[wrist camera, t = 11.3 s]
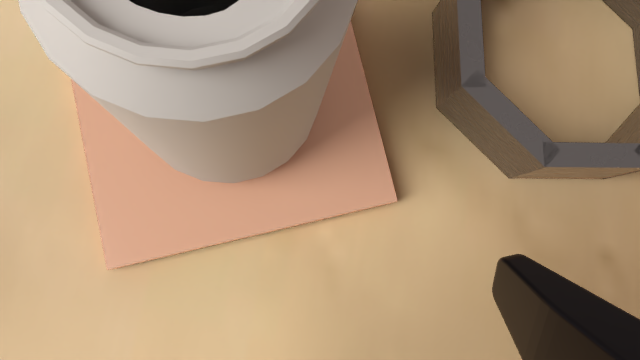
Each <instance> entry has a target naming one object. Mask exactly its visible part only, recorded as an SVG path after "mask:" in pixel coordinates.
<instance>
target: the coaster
mask: <svg viewBox="0 0 640 360" xmlns="http://www.w3.org/2000/svg"><path fill="white" fill-rule="evenodd" d="M71 81H72V86H73V92H74V97H75V102H76V108H77V113H78V118H79V123H80V129H81V134H82V139H83V145H84V150H85V155H86V161H87V166H88V171H89V177H90V182H91V187H92V193H93V198H94V203H95V209H96V214H97V219H98V225H99V230H100V235H101V241H102V246H103V251H104V257H105V262H106V267H107V270H111V269H116V268H121V267H125V266H129V265H133V264H138V263H142V262H146V261H150V260H154V259H159V258H163V257H167V256H171V255H175V254H180V253H184V252H188V251H192V250H197V249H201V248H205V247H209V246H213V245H218V244H222V243H226V242H230V241H235V240H239V239H243V238H247V237H251V236H256V235H260V234H264V233H268V232H273V231H277V230H281V229H285V228H289V227H294V226H298V225H302V224H306V223H311V222H315V221H319V220H323V219H327V218H332V217H336V216H340V215H344V214H348V213H353V212H357V211H361V210H365V209H370V208H374V207H378V206H382V205H386V204H391V203H394V202H397V201H398V200H397V197H396V193H395V189H394V185H393V181H392V177H391V173H390V170H389V166H388V162H387V158H386V154H385V150H384V146H383V143H382V139H381V135H380V131H379V127H378V123H377V119H376V116H375V112H374V108H373V104H372V100H371V96H370V92H369V89H368V85H367V81H366V77H365V73H364V69H363V65H362V62H361V58H360V54H359V50H358V46H357V42H356V39H355V35H354V31H353V27H352V23H351V21H350V23H349V26H348V29H347V32H346V35H345V37H344V40H343V43H342V46H341V49H340V51H339V54H338V57H337V60H336V63H335V65H334V68H333V71H332V74H331V77H330V79H329V82H328V85H327V88H326V91H325V93H324V96H323V99H322V102H321V105H320V107H319V110H318V113H317V116H316V118H315V120H314V123H313V125H312V128H311V130H310V133H309V135H308V138H307V140H306V141H305V142H304V143H303V144H302V145H301V147H300V148H299V149H298V150H297V151H296V152H295V154H294V155H293V156H292V157H291V158H290V159H289V161H287V162H286V163H284V164H282V165H281V166H279V167H278V168H276V169H274V170H273V171H271V172H269V173H268V174H266V175H264V176H262V177H258V178H254V179H250V180H246V181H241V182H237V183H222V182H209V181H202V180H199V179H197V178H194V177H192V176H189V175H187V174H184V173H182V172H179V171H177V170H175V169H174V168H172V167H171V166H170V165H169V164H168V163H166V162H165V161H164V160H163V159H162V158H161V157H159V156H158V155H157V154H156V153H155V152H153V151H152V150H151V149H150V148H149V147H148V146H147V145H145V144H144V143H143V142H142V141H141V140H140V139H139V138H138V137H136V136H135V135H134V134H133V133H132V132H131V131H130V130H128V129H127V128H126V127H125V126H124V125H123V124H122V123H121V122H119V121H118V120H117V119H116V118H115V117H114V116H113V115H112V114H110V113H109V112H108V111H107V110H106V109H105V108H104V107H103V106H101V105H100V104H99V103H98V102H97V101H96V100H95V99H94V98H92V97H91V96H90V95H89V94H88V93H87V92H86V91H85V90H83V89H82V88H81V87H80V86H79V85H78V84H77V83H76V82H74V81H73V80H72V79H71Z"/></svg>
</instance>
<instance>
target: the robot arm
mask: <svg viewBox="0 0 640 360" xmlns="http://www.w3.org/2000/svg"><path fill="white" fill-rule="evenodd" d="M492 292H493V297H494V300H495V302H496V304H497V306H498V308H499V310H500V313H501V315H502V317H503V319H504V321H505V323H506V325H507V328H508V330H509V332H510V334H511V336H512V338H513V340H514V343H515V345H516V347H517V349H518V351H519V353H520V355H521V358H522V360H640V319H638V318H636V317H634V316H632V315H631V314H629V313H627V312H625V311H623V310H622V309H620V308H618V307H616V306H614V305H613V304H611V303H609V302H607V301H605V300H604V299H602V298H600V297H598V296H596V295H595V294H593V293H591V292H589V291H587V290H586V289H584V288H582V287H580V286H578V285H577V284H575V283H573V282H571V281H569V280H568V279H566V278H564V277H562V276H560V275H559V274H557V273H555V272H553V271H551V270H550V269H548V268H546V267H544V266H542V265H541V264H539V263H537V262H535V261H533V260H532V259H530V258H528V257H526V256H524V255H521V254H515V255H511V256H506V257H502V258H500V259H499V261H498V263H497V267H496V272H495V277H494V282H493V287H492Z"/></svg>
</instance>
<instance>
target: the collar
mask: <svg viewBox="0 0 640 360" xmlns="http://www.w3.org/2000/svg"><path fill="white" fill-rule="evenodd" d="M603 1H604V2H605V3H606V4H607V5H608V6H609V7H610V8H611V9H612V10H613V11H614V12H615V13H616V14H618V15H619V16H620V17H621V18H622V19H623V20H624V21H625V22H626V23H627V24H628V25H629V26H630V27H631V28H632V29H633V37H634V46H635V56H636V66H637V75H638V85H639V94H640V0H603ZM432 17H433V40H434V62H435V84H436V108H437V109H438V110H439V111H440V112H441V113H442V114H444V115H445V116H446V117H447V118H448V119H449V120H450V121H451V122H452V123H453V124H454V125H455V126H456V127H457V128H458V129H459V130H460V131H461V132H462V133H463V134H464V135H465V136H466V137H467V138H468V139H469V140H470V141H471V142H472V143H473V144H474V145H475V146H476V147H477V148H478V149H479V150H480V151H481V152H483V153H484V154H485V155H486V156H487V157H488V158H489V159H490V160H491V161H492V162H493V163H494V164H495V165H496V166H497V167H498V168H499V169H500V170H501V171H502V172H503V173H504V174H505V175H506V176H507V177H508V178H569V179H605V178H610V177H614V176H619V175H624V174H628V173H633V172H637V171H640V104H639V105H638V107H637V108H636V109H635V110H634V111H633V112H632V113H631V115H630V116H629V117H628V118H627V119H626V120H625V121H624V123H623V124H622V125H621V126H620V127H619V128H618V129H617V131H616V132H615V133H614V134H613V135H612V136H611V137H610V139H609V140H608V141H607V142H606V143H567V142H552V141H551V140H550V139H549V138H548V137H547V136H546V135H545V134H544V133H543V132H542V131H541V130H540V129H539V128H538V127H537V126H536V125H535V124H534V123H532V122H531V121H530V120H529V119H528V118H527V117H526V116H525V115H524V114H523V113H522V112H521V111H520V110H519V109H518V108H517V107H516V106H515V105H514V104H513V103H512V102H511V101H510V100H509V99H508V98H507V97H506V96H505V95H504V94H503V93H501V92H500V91H499V90H498V89H497V88H496V87H495V86H494V85H493V84H492V83H491V82H490V81H489V80H488V79H487V78H486V77H485V65H484V48H483V31H482V14H481V0H441V1H440V2H439V4H438V5H437V7H436V8H435V10H434V11H433V12H432Z"/></svg>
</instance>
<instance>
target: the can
mask: <svg viewBox="0 0 640 360" xmlns="http://www.w3.org/2000/svg"><path fill="white" fill-rule="evenodd" d="M18 1H19V6H20V11H21V13H22V15H23V17H24V18H25V20H26V22H27V23H28V25H29V27H30V28H31V30H32V32H33V33H34V35H35V37H36V38H37V40H38V42H39V43H40V45H41V47H42V48H43V50H44V51H45V53H46V55H47V56H48V58H49V59H50V60H51V61H52V62H53V63H54V64H55V65H56V66H58V67H59V68H60V69H61V70H62V71H63V72H64V73H65V74H67V75H68V76H69V77H70V78H71V79H72V80H73V81H74V82H76V83H77V84H78V85H79V86H80V87H81V88H82V89H83V90H85V91H86V92H87V93H88V94H89V95H90V96H91V97H92V98H94V99H95V100H96V101H97V102H98V103H99V104H100V105H101V106H103V107H104V108H105V109H106V110H107V111H108V112H109V113H110V114H112V115H113V116H114V117H115V118H116V119H117V120H118V121H119V122H121V123H122V124H123V125H124V126H125V127H126V128H127V129H128V130H130V131H131V132H132V133H133V134H134V135H135V136H136V137H138V138H139V139H140V140H141V141H142V142H143V143H144V144H145V145H147V146H148V147H149V148H150V149H151V150H152V151H153V152H155V153H156V154H157V155H158V156H159V157H161V158H162V159H163V160H164V161H165V162H166V163H168V164H169V165H170V166H171V167H172V168H174V169H175V170H177V171H179V172H182V173H184V174H187V175H189V176H192V177H194V178H197V179H199V180H202V181H209V182H222V183H237V182H241V181H246V180H250V179H254V178H258V177H262V176H264V175H266V174H268V173H269V172H271V171H273V170H274V169H276V168H278V167H279V166H281V165H282V164H284V163H286V162H287V161H289V159H290V158H291V157H292V156H293V155H294V154H295V152H296V151H297V150H298V149H299V148H300V147H301V145H302V144H303V143H304V142H305V141H306V140H307V138H308V135H309V133H310V130H311V128H312V125H313V123H314V120H315V118H316V116H317V113H318V110H319V107H320V105H321V102H322V99H323V96H324V93H325V91H326V88H327V85H328V82H329V79H330V77H331V74H332V71H333V68H334V65H335V63H336V60H337V57H338V54H339V51H340V49H341V46H342V43H343V40H344V37H345V35H346V32H347V29H348V26H349V23H350V21H351V18H352V15H353V12H354V9H355V7H356V4H357V1H358V0H18Z"/></svg>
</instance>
